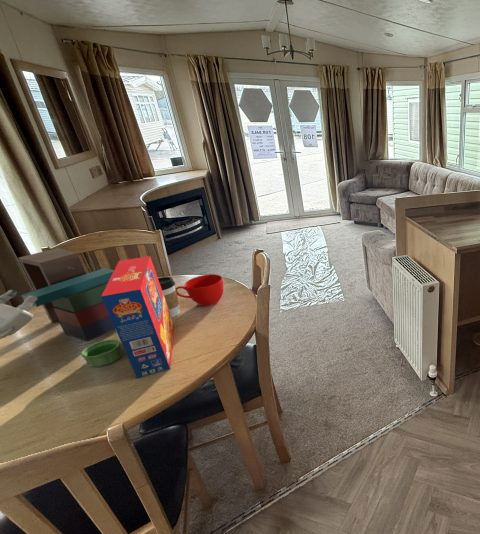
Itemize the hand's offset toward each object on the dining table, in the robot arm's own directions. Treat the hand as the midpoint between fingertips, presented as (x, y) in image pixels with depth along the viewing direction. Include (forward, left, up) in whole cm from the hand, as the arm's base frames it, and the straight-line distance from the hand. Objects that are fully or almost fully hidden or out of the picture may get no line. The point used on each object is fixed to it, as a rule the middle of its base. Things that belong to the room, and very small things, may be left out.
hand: (24, 293), depth 104 cm
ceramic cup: (+19, +39, -21) cm, 48 cm away
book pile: (0, +14, -21) cm, 25 cm away
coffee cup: (+15, +28, -21) cm, 38 cm away
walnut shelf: (-14, +14, -21) cm, 29 cm away
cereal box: (+32, +11, -21) cm, 40 cm away
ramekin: (+22, +2, -21) cm, 30 cm away
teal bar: (0, +11, -4) cm, 12 cm away
